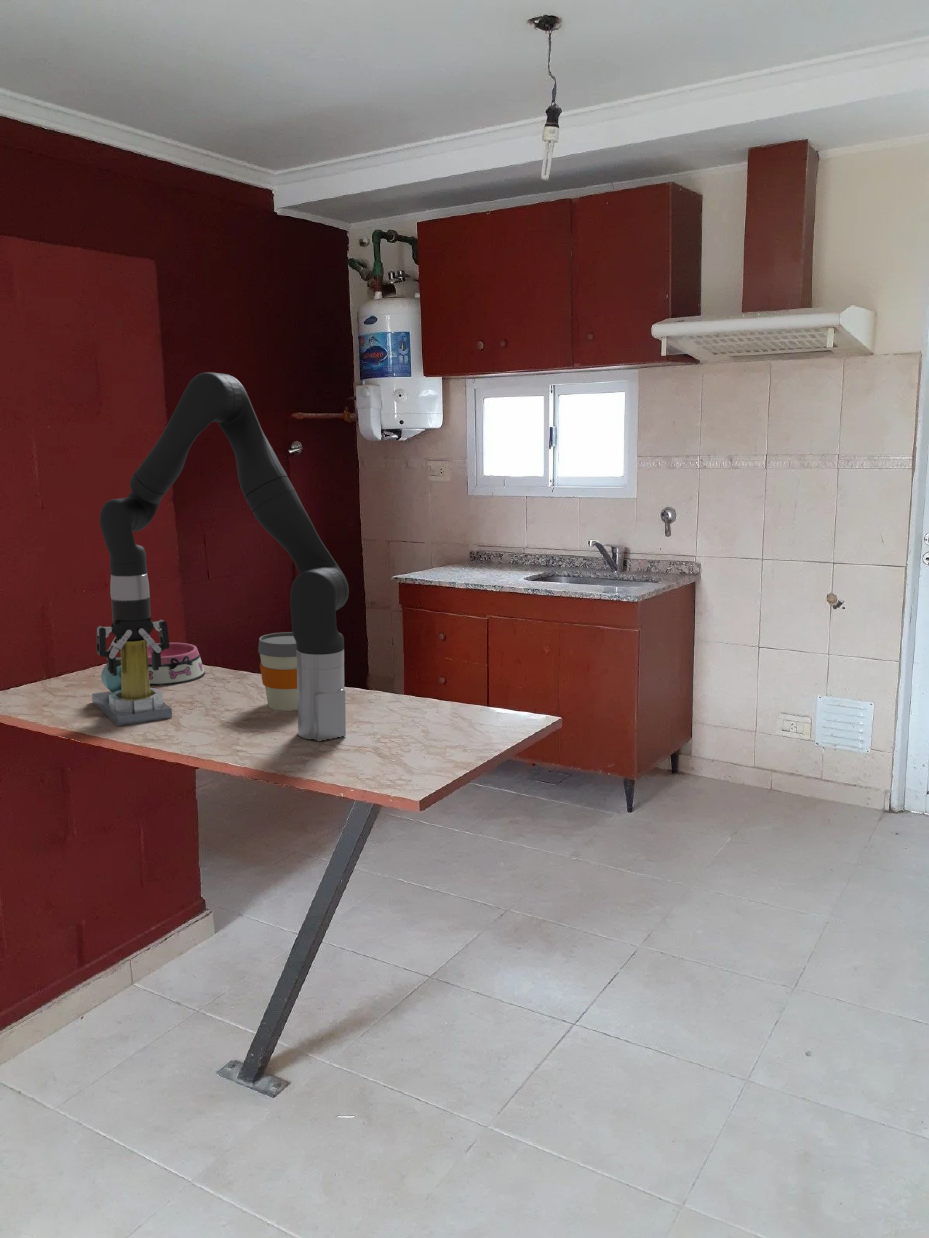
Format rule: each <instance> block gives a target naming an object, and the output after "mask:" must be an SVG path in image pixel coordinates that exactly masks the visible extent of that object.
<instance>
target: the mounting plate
mask: <svg viewBox="0 0 929 1238" xmlns="http://www.w3.org/2000/svg"><path fill="white" fill-rule="evenodd" d="M115 658H116V666H117V676H112V675H111V674H110V673H109V672H108V670H107V664H105V665H104V667H103V668H102V671H101V675H100V679H101V682H102V685H103V686H104V687H105V688H106V689H107V690H109V691H101V692H95V693H91V701H92V704H93V705H94V706H96V707H97V708H98V709H99V710H100V711H101V712H102V713H103V714H104V715H105V716H107V718H108V719H110V721H112V722H113V723H114V724H115V725H116V726H118V727H122V726H129V725H136V724H141V723H147V722H152V721H160V720H165V719H172V718H173V708H172V707H171V706H169V705H168V704H167V703H165V702H164V698H163V691H161V690H160V689H158V688H156V687H150V694H151V696H150V697H146V698H139V699H122V688H121V656H119V657H116V656H115Z"/></svg>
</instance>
